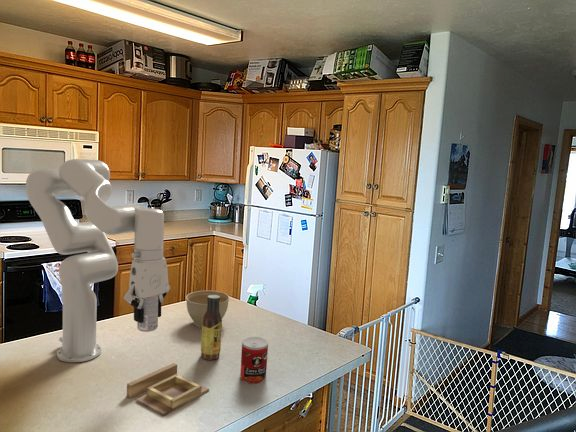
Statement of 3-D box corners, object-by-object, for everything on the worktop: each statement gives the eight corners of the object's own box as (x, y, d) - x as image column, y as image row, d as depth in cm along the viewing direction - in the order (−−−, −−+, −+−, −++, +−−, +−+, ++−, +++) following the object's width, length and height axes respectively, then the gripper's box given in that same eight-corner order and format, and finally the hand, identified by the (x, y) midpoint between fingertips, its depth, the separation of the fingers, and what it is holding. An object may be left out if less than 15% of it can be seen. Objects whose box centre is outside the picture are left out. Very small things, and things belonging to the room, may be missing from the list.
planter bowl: (183, 317, 177) (184, 291, 176) (224, 316, 182) (225, 290, 181) (186, 333, 162) (187, 304, 161) (231, 331, 167) (232, 303, 165)
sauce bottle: (216, 361, 142) (219, 301, 139) (197, 358, 143) (200, 298, 140) (223, 353, 148) (226, 295, 145) (205, 350, 149) (208, 292, 147)
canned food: (242, 385, 129) (244, 348, 127) (238, 371, 136) (240, 337, 135) (268, 383, 131) (271, 347, 129) (262, 370, 138) (265, 336, 137)
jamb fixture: (126, 396, 119) (127, 383, 118) (173, 374, 132) (173, 362, 132) (163, 416, 111) (164, 402, 110) (208, 390, 124) (209, 378, 124)
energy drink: (150, 323, 128) (151, 282, 127) (161, 328, 125) (162, 286, 123) (133, 328, 124) (134, 286, 123) (144, 333, 121) (145, 290, 119)
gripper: (131, 261, 113) (130, 330, 115) (182, 252, 127) (180, 314, 129) (112, 256, 117) (112, 323, 119) (164, 248, 131) (162, 308, 133)
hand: (147, 318), depth 124 cm, fingers closed on energy drink, 5 cm apart
